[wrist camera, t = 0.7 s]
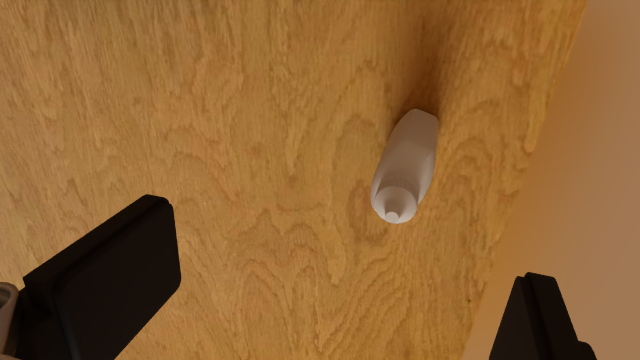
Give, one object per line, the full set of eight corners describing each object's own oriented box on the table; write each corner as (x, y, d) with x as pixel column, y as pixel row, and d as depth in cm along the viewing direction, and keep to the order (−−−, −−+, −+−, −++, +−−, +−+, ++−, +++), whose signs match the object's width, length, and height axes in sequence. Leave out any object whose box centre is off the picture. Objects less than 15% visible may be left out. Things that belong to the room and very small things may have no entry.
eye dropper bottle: (458, 143, 31) (463, 223, 21) (399, 181, 34) (376, 269, 23) (424, 98, 30) (410, 157, 20) (366, 141, 33) (327, 212, 23)
